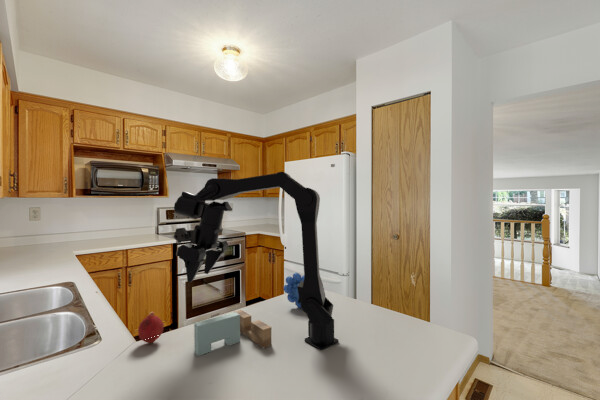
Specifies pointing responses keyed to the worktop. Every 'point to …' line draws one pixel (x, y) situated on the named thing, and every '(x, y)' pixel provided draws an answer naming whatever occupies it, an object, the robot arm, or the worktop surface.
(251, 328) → the slot rail
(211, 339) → the cross plate
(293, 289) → the grapes
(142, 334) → the onion
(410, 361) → the worktop surface
